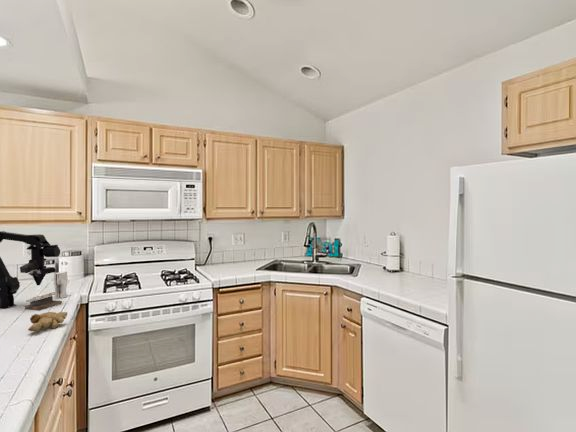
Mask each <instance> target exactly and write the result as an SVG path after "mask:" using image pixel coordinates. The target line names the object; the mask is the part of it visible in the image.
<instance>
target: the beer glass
mask: <svg viewBox="0 0 576 432" xmlns="http://www.w3.org/2000/svg"><path fill="white" fill-rule="evenodd" d="M68 278H69V277H68V272H67V271H58V272H53V286H54V292H56V293H57V294H55V295H54V299H56V298H60V299H63V298H62V297H65V298H67V297H68V296H67V286H68ZM66 296H67V297H66Z"/></svg>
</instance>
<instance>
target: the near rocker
mask: <svg viewBox="0 0 576 432" xmlns="http://www.w3.org/2000/svg"><path fill="white" fill-rule="evenodd" d="M41 296H42V295H39V296H37V295H36V296H33V297H32V298H29V299H26V300H25V302H26V303H30V302H32V301H35V300H39V299H40V298H41ZM41 299H42V298H41Z"/></svg>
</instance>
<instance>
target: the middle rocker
mask: <svg viewBox="0 0 576 432" xmlns="http://www.w3.org/2000/svg"><path fill="white" fill-rule="evenodd" d="M40 296H41V298H40V299H43V298H46V297H50V296H49V293H48V294H43V295H40Z"/></svg>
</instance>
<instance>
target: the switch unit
mask: <svg viewBox="0 0 576 432" xmlns="http://www.w3.org/2000/svg"><path fill="white" fill-rule="evenodd" d="M53 296H54V295H52V296H49V297H46V298H41V299H37V300H34V301H31V302H29V305H25V306H24V310H31V311H42V310H46V309H49V307H50V308H53V307H56V306H58V304H59V305H62V304H63V301H62V300H54V299H53ZM61 303H62V304H61ZM55 305H56V306H55ZM52 306H53V307H52Z"/></svg>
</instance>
